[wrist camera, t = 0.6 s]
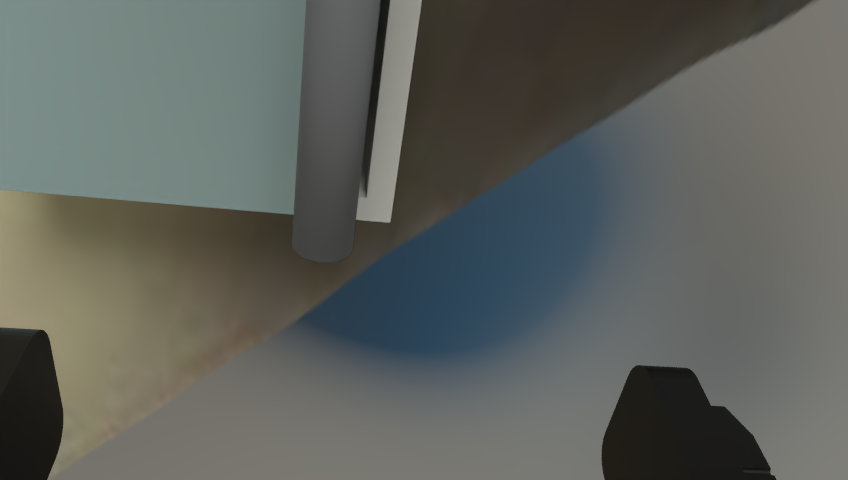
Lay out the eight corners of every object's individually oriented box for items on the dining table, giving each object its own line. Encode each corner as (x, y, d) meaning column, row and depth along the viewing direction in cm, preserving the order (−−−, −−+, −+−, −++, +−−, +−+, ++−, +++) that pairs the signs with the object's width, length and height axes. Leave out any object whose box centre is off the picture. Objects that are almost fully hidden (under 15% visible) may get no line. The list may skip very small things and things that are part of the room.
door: (-179, -374, 18) (-393, -414, 13) (404, -272, 20) (419, -272, 15) (-54, 175, 26) (-155, 284, 21) (351, 210, 28) (349, 318, 23)
